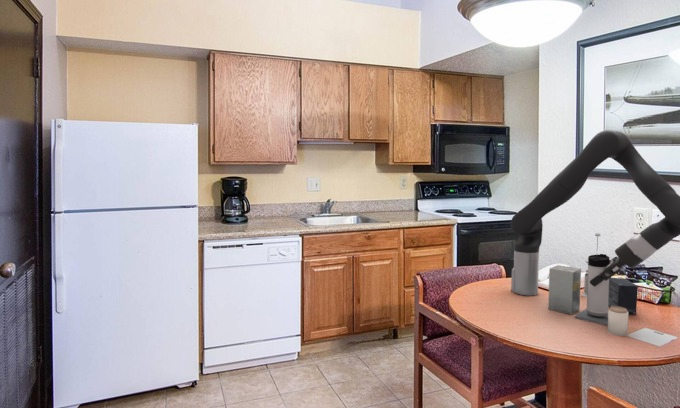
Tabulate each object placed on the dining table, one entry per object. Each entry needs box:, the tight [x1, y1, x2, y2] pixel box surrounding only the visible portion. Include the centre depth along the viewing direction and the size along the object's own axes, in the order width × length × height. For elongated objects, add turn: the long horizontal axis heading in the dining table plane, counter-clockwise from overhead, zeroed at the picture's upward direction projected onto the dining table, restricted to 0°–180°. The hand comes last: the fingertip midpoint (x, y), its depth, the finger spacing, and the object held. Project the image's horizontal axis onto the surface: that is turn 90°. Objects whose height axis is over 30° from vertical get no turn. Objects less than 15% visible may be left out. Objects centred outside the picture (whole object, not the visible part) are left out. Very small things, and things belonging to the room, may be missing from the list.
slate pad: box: [574, 308, 608, 327], centre depth 150 cm, size 10×10×1 cm
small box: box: [608, 277, 639, 316], centre depth 158 cm, size 11×6×10 cm, turn 169°
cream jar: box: [607, 306, 629, 337], centre depth 137 cm, size 5×5×8 cm
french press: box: [580, 232, 601, 298], centre depth 174 cm, size 10×12×25 cm
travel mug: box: [586, 253, 610, 317], centre depth 149 cm, size 6×7×20 cm
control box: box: [547, 264, 582, 315], centre depth 159 cm, size 9×7×15 cm
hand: (592, 281), depth 150 cm, fingers closed on travel mug, 6 cm apart
